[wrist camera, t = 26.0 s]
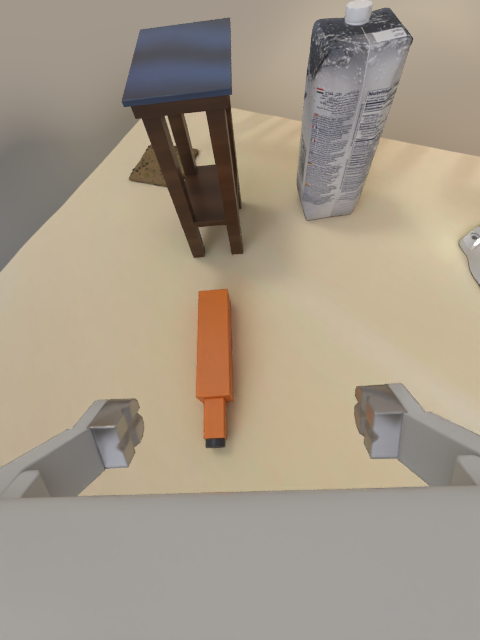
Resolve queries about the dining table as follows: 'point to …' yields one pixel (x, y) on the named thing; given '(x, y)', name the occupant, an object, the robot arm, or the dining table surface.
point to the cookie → (152, 168)
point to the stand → (174, 100)
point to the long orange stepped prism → (214, 363)
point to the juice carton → (347, 104)
